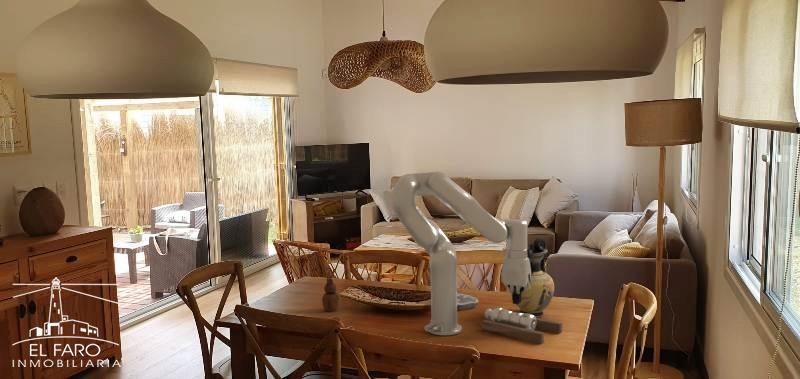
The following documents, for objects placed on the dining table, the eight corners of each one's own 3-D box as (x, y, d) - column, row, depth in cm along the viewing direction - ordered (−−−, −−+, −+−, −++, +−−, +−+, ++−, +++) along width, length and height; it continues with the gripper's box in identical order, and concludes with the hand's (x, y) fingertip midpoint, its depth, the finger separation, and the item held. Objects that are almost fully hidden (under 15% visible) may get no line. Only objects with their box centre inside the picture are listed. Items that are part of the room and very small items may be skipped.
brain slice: (472, 299, 278) (472, 292, 278) (481, 310, 262) (481, 303, 261) (427, 301, 276) (427, 294, 276) (434, 313, 259) (434, 306, 259)
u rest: (541, 344, 221) (541, 334, 221) (482, 330, 237) (482, 321, 236) (562, 332, 233) (562, 322, 232) (504, 319, 248) (504, 310, 248)
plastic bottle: (532, 312, 229) (485, 302, 242) (527, 331, 227) (480, 319, 240) (540, 317, 233) (493, 307, 247) (535, 335, 232) (489, 324, 245)
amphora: (543, 324, 242) (543, 245, 239) (502, 316, 252) (502, 241, 249) (560, 312, 257) (561, 237, 253) (521, 305, 266) (521, 234, 263)
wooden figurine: (327, 313, 261) (326, 277, 259) (320, 310, 265) (318, 275, 264) (341, 310, 265) (340, 274, 263) (334, 307, 270) (332, 272, 268)
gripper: (493, 253, 235) (493, 302, 237) (530, 258, 225) (530, 309, 227) (504, 249, 240) (504, 297, 242) (540, 254, 231) (540, 304, 233)
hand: (516, 303), depth 235 cm, fingers closed
